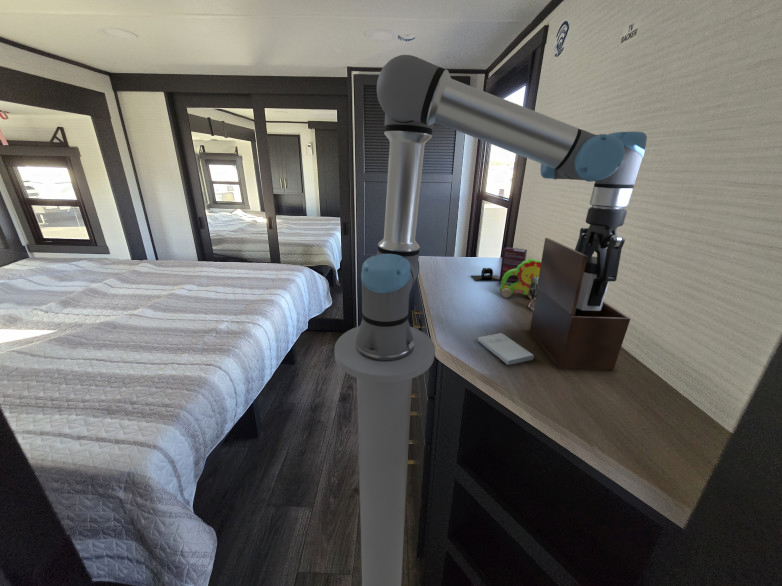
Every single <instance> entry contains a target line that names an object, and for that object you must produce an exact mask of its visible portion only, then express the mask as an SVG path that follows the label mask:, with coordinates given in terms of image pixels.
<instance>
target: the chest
mask: <svg viewBox="0 0 782 586" xmlns="http://www.w3.org/2000/svg"><path fill="white" fill-rule="evenodd" d="M534 301H535V302H534V304H535V306H534V311H532V316H531V321H530V327H529V334H531V336H533V338H534V339H535V340H536V341H537V343H538V344H539V345H540V347H541V348H542V349H543V350H544V352H545V353H546V354H547V355H548V357H549V358H550V359H551V361H552V362H554V364H555V365H556V366H557V368H558V369H561V370H562V369H563V370H591V371H614V370H615V367H616V363H617V361H618V358H619V355H620V352H621V349H622V346H623V343H624V340H625V337H626V333H627V330H628V327H629V325H630V321H631V318H630V317H629V316H627V315H626V314H623V312H621V311H619V310H618V309H616V308H615V307H613V306H611V305H610V304H608V303H606V302H605V300H604V301H603V304H602V308H601V311H583V310H580V309H577V308H576V311H575V315H570V314H569V313H568V312H567V311H566V310H564V309H563V308H562V307H561V306H560V305H559V304H557V303H556V302H555V301H554V300H553V299H551V298H550V297H549V296H548V295H547V294H546V293H544V292H543V291H542V290H541V289H540V288H538V292H537V297H536V300H534Z"/></svg>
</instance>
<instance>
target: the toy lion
mask: <svg viewBox="0 0 782 586" xmlns="http://www.w3.org/2000/svg"><path fill="white" fill-rule="evenodd" d="M540 266H541V260H539V259H534V258H528V259H527V260H525V261H523V262H522V263H521V264H519V265H518V266H517V268H516V269H511V270H509V271H507V272H506V273H505V274H504V276H503V278H502V282H501V286H500V287H499V292H500V293H501V296H502V297H503V298H504V299H508V298H510V297H511V296H512V295H513V294H521V295H525V296H527V298H529V300H530V301H531V300H532V297H531V296H530V295H529V288H530V284H531V280H532V278H535V277H539V272H540ZM511 275H516V276H518V282H515V283H513V284H511V285H510V286H508V285H506V282H507V279H508V277H509V276H511ZM531 276H532V277H531ZM533 301H536V298H535V297H534V300H533Z"/></svg>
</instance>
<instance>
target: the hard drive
mask: <svg viewBox="0 0 782 586" xmlns="http://www.w3.org/2000/svg"><path fill="white" fill-rule="evenodd" d="M477 342H479V343H480V344H481V345H482V346H484V347H485V348H486V349H487V350H488V351H490V352H491V353H492V354H493V355H494V356H496V357H497V358H498V359H500V361H502V362H503V363H504V364H505V365H507V366H513V365H517V364H521V363H525V362H531V361H533V360H534V358H535V355H534V354H533V353H531V352H530V351H529V350H527V349H526V348H525V347H523V346H521V345H520V344H518V343H517V342H516V341H514V340H512V339H511V338H510V337H508V336H507V335H505V334H504V333H502V332H500V333H495V334H488V335H482V336H479V337H478V340H477Z"/></svg>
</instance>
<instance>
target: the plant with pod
mask: <svg viewBox="0 0 782 586" xmlns="http://www.w3.org/2000/svg"><path fill="white" fill-rule="evenodd" d="M531 277H532V276H531ZM538 278H539V277H535V278H532V280H531V284H530V288H529V295H530V296H531V297H532V300H531V299H530V300H529V303H528V306H527V308H529V310H530V311H532V312H533V311H534V306H535V303H533V301H535V300H534V297H535V298H536V297H537V292H538V288H539V287H537V284H538Z"/></svg>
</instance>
